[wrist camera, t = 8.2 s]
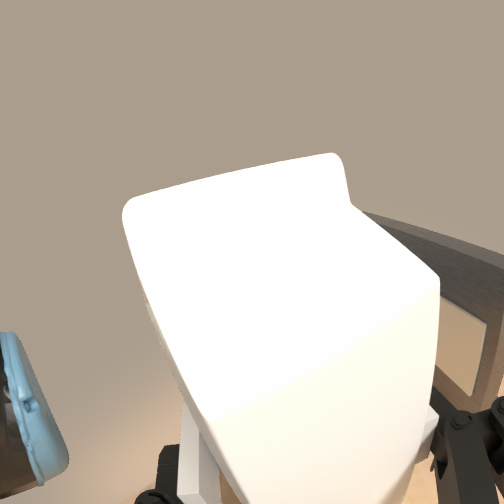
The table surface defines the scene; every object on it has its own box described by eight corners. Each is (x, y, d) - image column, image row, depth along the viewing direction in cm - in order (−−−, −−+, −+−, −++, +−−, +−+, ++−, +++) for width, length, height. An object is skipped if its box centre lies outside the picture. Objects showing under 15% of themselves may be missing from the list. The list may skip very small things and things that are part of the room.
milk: (387, 541, 11) (437, 138, 5) (308, 593, 9) (124, 194, 3) (333, 495, 16) (285, 161, 11) (261, 536, 14) (113, 203, 8)
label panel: (457, 462, 19) (505, 272, 14) (361, 343, 44) (348, 214, 39) (512, 422, 19) (557, 242, 14) (406, 327, 44) (399, 203, 39)
